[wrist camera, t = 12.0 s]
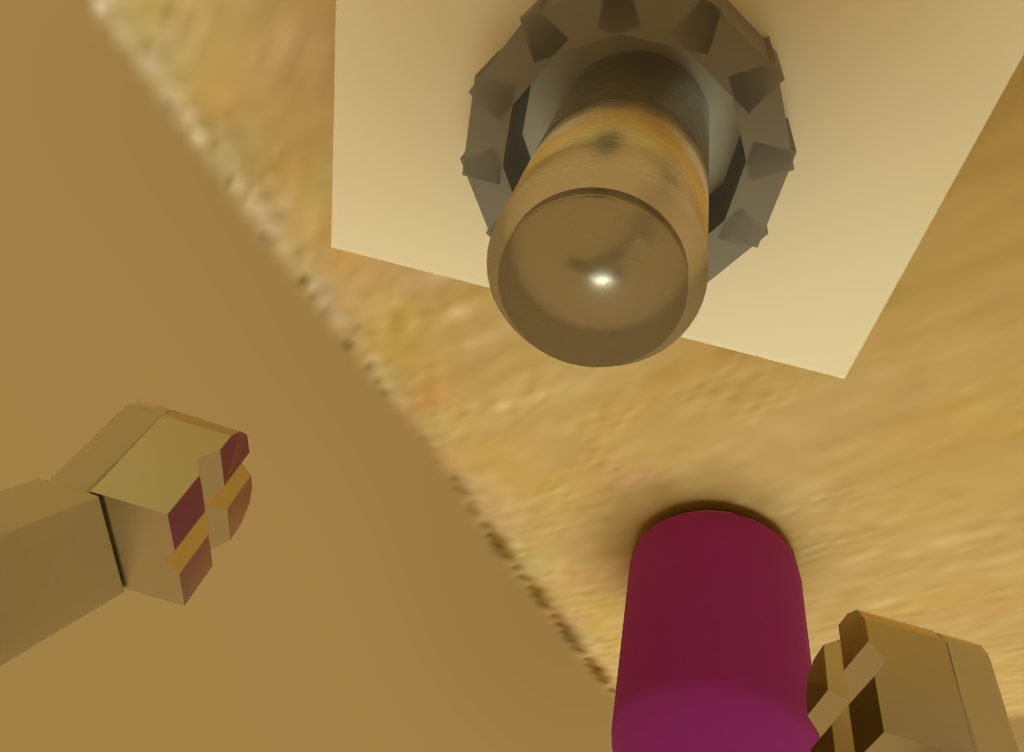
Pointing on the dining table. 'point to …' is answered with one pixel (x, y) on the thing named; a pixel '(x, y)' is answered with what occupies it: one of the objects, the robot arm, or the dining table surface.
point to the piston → (610, 217)
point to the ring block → (732, 138)
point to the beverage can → (713, 641)
